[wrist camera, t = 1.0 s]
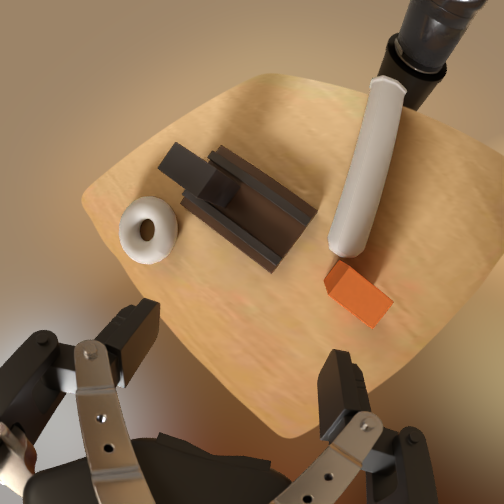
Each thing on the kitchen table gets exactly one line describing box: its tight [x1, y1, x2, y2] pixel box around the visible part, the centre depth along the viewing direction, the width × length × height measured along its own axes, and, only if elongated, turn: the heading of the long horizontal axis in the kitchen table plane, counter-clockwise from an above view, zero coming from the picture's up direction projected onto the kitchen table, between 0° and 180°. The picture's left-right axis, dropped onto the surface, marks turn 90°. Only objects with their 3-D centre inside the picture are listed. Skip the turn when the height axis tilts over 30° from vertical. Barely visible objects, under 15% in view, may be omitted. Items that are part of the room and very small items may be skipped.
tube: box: [327, 75, 407, 258], centre depth 32 cm, size 5×5×25 cm
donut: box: [119, 196, 178, 264], centre depth 40 cm, size 10×3×10 cm
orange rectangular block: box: [324, 260, 394, 329], centre depth 31 cm, size 4×6×10 cm, turn 54°
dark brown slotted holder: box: [158, 142, 318, 273], centre depth 33 cm, size 10×16×11 cm, turn 54°
